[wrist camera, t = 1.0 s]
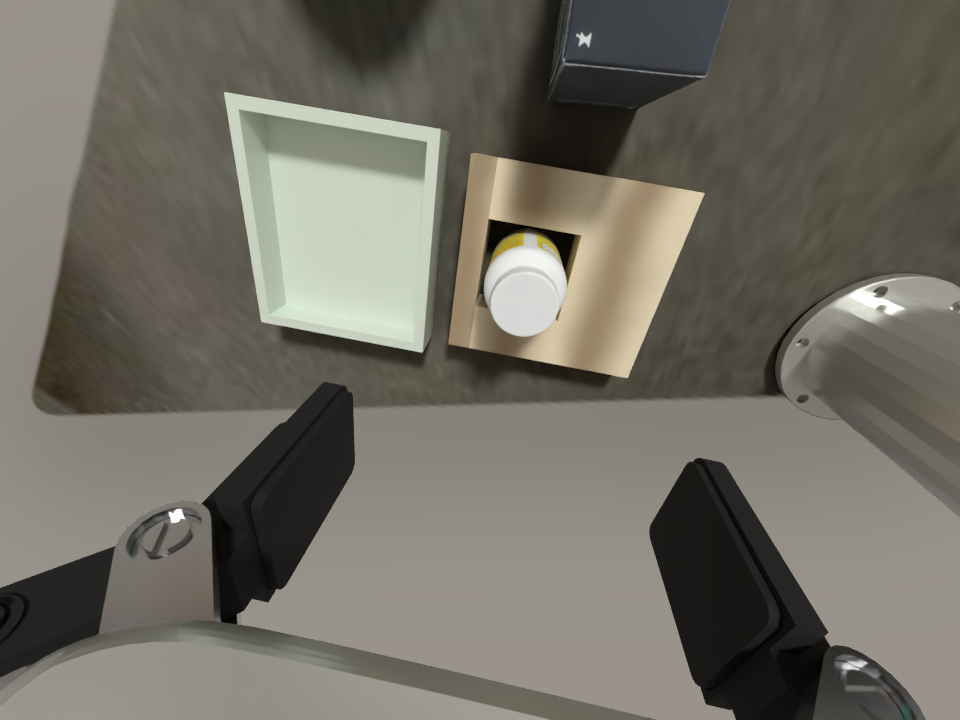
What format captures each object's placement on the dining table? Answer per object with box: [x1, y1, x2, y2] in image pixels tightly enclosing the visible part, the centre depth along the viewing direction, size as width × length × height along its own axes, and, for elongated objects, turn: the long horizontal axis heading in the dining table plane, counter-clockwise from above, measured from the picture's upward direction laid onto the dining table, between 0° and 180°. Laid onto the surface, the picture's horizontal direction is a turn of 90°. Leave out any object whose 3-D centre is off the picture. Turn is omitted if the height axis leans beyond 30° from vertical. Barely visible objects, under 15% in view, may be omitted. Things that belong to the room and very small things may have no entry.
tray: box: [224, 92, 451, 353], centre depth 28 cm, size 14×16×4 cm
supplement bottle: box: [484, 228, 567, 337], centre depth 25 cm, size 5×5×10 cm
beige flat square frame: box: [448, 153, 705, 378], centre depth 28 cm, size 15×14×3 cm
